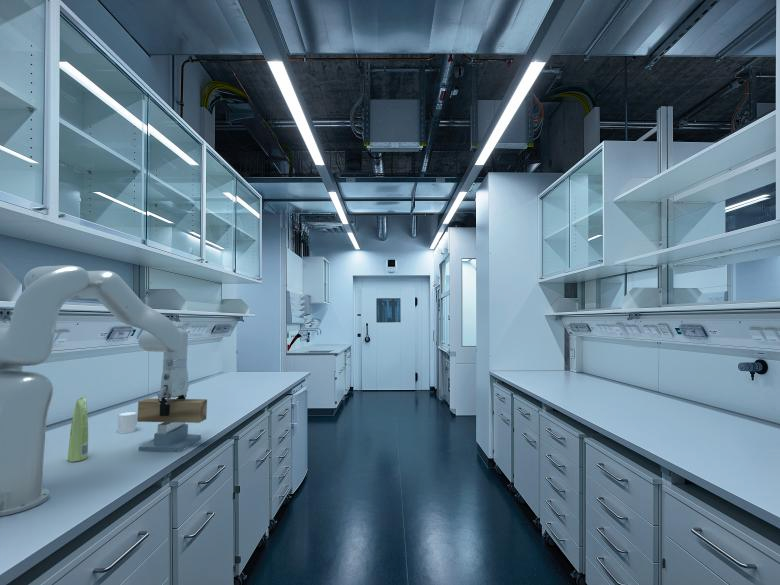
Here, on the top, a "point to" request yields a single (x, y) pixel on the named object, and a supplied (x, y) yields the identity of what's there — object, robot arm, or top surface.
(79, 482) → the top surface
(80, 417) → the tube
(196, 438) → the stand
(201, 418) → the walnut bar
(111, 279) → the robot arm
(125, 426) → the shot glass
